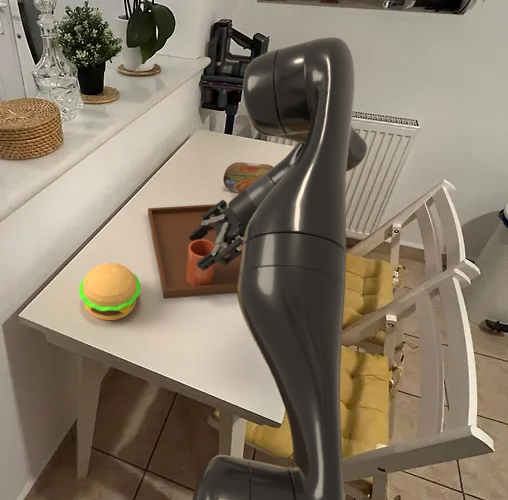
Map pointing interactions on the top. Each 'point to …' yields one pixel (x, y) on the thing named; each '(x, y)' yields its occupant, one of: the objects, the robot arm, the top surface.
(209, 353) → the top surface
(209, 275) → the reddish brown cup
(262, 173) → the tin
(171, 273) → the tray
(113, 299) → the hamburger
